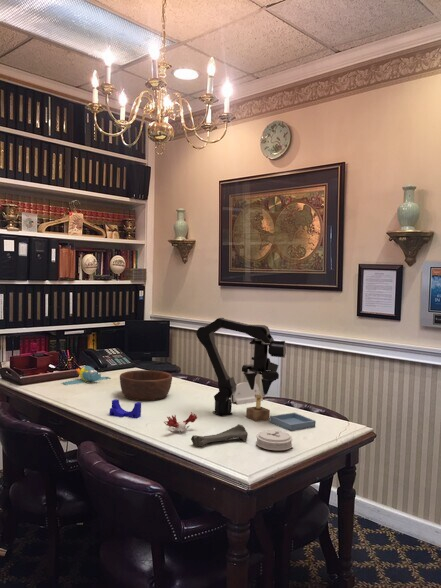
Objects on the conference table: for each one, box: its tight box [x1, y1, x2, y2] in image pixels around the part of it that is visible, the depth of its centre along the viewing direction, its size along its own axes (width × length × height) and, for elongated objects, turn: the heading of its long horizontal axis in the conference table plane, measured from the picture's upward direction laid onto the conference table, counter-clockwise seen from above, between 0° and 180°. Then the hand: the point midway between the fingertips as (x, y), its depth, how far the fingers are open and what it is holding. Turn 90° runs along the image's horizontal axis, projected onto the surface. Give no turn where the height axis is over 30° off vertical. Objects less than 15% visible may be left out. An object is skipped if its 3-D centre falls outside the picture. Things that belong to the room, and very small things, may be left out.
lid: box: [255, 429, 293, 451], centre depth 175 cm, size 13×13×5 cm
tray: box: [269, 412, 317, 432], centre depth 202 cm, size 13×13×2 cm
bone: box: [190, 424, 249, 447], centre depth 177 cm, size 22×6×6 cm, turn 119°
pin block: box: [245, 405, 271, 423], centre depth 209 cm, size 7×7×4 cm
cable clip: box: [109, 398, 142, 419], centre depth 204 cm, size 12×4×6 cm, turn 72°
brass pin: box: [255, 393, 264, 410], centre depth 209 cm, size 3×3×10 cm
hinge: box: [229, 381, 264, 406], centre depth 237 cm, size 17×5×10 cm, turn 127°
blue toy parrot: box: [60, 365, 111, 386], centre depth 265 cm, size 28×9×15 cm
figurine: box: [163, 411, 198, 433], centre depth 188 cm, size 15×12×7 cm
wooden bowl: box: [119, 369, 173, 402], centre depth 239 cm, size 25×25×10 cm
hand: (258, 392), depth 209 cm, fingers open, 9 cm apart
